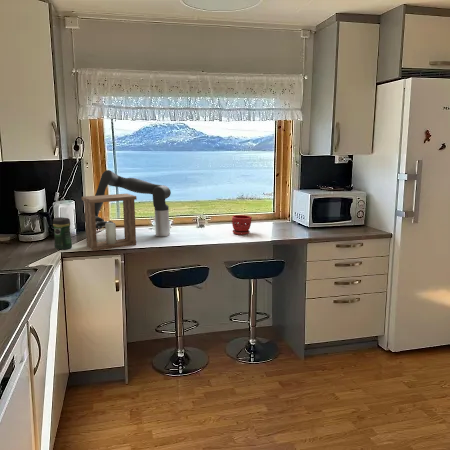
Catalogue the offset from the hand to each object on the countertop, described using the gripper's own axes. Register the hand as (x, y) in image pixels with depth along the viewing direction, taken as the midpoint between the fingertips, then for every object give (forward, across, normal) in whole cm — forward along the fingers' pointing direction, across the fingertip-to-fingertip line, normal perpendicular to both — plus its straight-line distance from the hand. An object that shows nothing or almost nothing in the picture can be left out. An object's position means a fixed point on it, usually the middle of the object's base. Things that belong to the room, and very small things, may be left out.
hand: (104, 226), depth 271 cm
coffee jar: (+2, -26, +10) cm, 28 cm away
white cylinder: (+11, 0, +8) cm, 14 cm away
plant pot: (+28, +86, +10) cm, 91 cm away
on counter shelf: (+11, 0, +10) cm, 15 cm away
